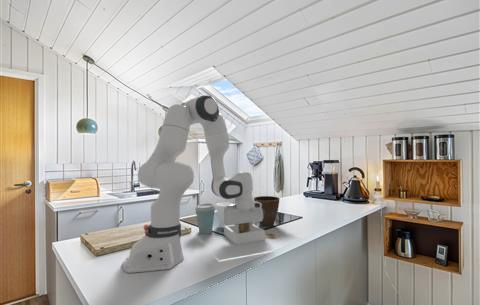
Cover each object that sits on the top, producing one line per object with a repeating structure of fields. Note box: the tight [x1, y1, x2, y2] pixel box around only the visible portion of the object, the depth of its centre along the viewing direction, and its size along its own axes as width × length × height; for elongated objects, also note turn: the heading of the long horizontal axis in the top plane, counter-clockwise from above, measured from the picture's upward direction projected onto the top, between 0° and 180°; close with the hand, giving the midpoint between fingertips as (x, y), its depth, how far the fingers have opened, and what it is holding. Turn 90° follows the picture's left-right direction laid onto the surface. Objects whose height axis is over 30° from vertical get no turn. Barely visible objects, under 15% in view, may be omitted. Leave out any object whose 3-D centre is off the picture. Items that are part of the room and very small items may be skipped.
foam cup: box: [215, 202, 234, 229], centre depth 147 cm, size 10×9×13 cm
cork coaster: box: [265, 232, 279, 240], centre depth 129 cm, size 8×8×1 cm
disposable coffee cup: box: [194, 202, 216, 235], centre depth 136 cm, size 11×11×15 cm
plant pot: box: [253, 195, 281, 228], centre depth 149 cm, size 15×15×16 cm
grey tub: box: [223, 223, 266, 245], centre depth 127 cm, size 15×15×5 cm
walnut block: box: [238, 223, 249, 234], centre depth 127 cm, size 4×4×7 cm
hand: (243, 232), depth 127 cm, fingers closed on walnut block, 4 cm apart
